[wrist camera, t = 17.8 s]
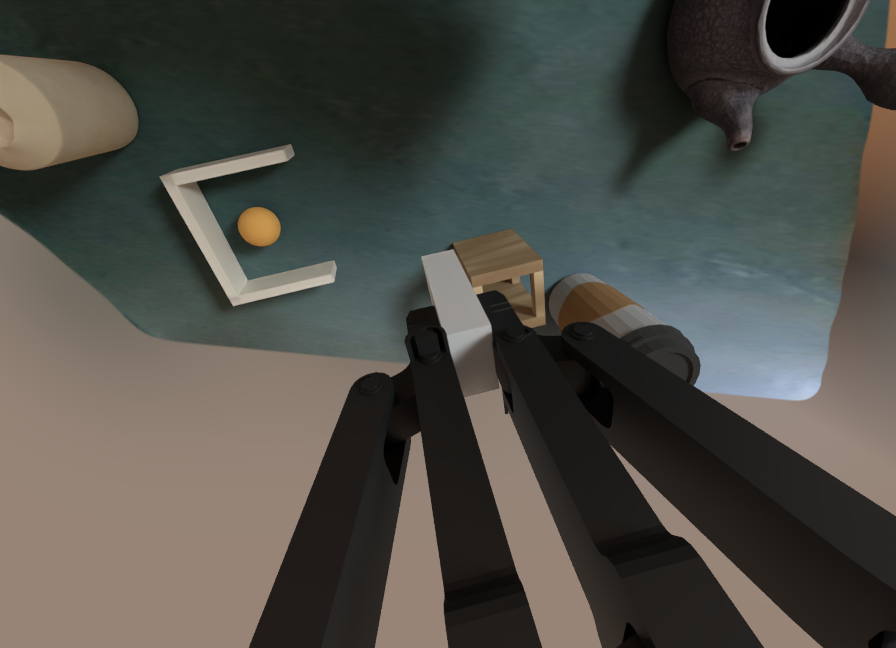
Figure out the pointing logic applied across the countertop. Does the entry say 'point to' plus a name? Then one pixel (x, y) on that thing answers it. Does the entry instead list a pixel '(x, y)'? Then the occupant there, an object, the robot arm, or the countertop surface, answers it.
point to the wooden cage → (505, 271)
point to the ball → (259, 226)
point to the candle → (60, 112)
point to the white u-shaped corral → (214, 241)
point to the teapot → (768, 54)
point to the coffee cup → (623, 322)
